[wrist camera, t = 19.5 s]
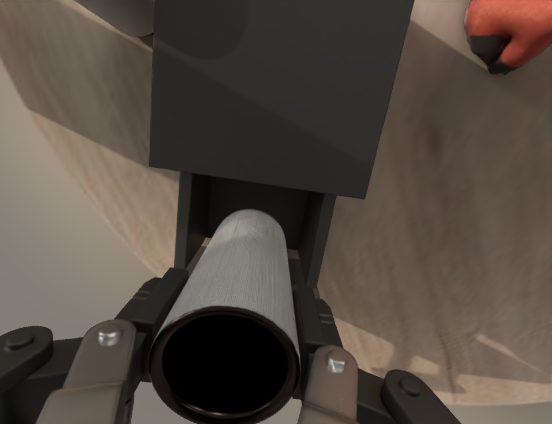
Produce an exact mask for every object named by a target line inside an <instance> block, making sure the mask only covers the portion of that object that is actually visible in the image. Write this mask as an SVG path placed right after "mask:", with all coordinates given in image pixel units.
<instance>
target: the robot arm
mask: <svg viewBox="0 0 552 424" xmlns="http://www.w3.org/2000/svg"><path fill="white" fill-rule="evenodd" d="M188 279H189V271H188V270H187V269H179V268H169V270H168V271H167V272H166V273H165V275H164V276H163V277H162V278H157V277H155V278H153V279H151V280H149V281H147V282H146V283H144V284H143V285H142V287H141V288H140V289H139V290H138V292H137V293H136V294H135V295H134V296H133V298H132V299H131V300H130V301H129V302H128V303H127V304H126V306H125V307H124V308H123V309H122V310H121V311H120V313H119V314H118V315H117V316H116V317H115V318H114V320H108V321H104V322H101V323H99V324H97V325H95V326H93V327H92V328H90V329H89V330H88V331H87V332H86V334H85V335H84V337H82V338H74V339H65V340H55V341H53V334H52V331H51V330H50V329H48V328H46V327H41V326H30V327H23V328H19V329H16V330H13V331H10V332H8V333H6V334H4V335H2V336H0V424H131V418H132V411H133V404H134V392H135V390H136V389H137V387H138V385H139V383H140V381H142V382H151V379H150V375H149V368H148V360H149V353H150V349H151V346H152V344H153V341H154V339H155V337H156V336H157V334H158V332H159V330H160V328H161V327H162V325H163V323H164V321H165V320H166V318H167V316H168V314H169V313H170V311H171V309H172V307H173V305H174V304H175V302H176V300H177V298H178V297H179V295H180V293H181V291H182V290H183V288H184V286H185V284H186V283H187V281H188ZM292 297H293V305H294V313H295V321H296V329H297V337H298V345H299V354H300V364H301V372H300V378H299V382H298V385H297V388H296V390H295V392H294V394H293V395H292V397H293V399H300V400H301V401H302V408H301V411H300V415H299V419H298V423H297V424H461V423H460V422H459V421H458V420H457V419H456V417H455V416H454V415H453V414H452V413H451V412H450V410H449V409H448V408H447V407H446V406H445V405H444V404H443V403H442V401H441V400H440V399H439V398H438V397H437V396H436V395H435V394H434V392H433V391H432V390H431V389H430V388H429V387H428V386H427V385H426V384H425V383H424V382H423V381H422V380H421V379H420V378H418V377H417V376H415V375H413V374H411V373H409V372H406V371H403V370H391V371H389V372H388V373H387V374H386V376H385V379H383V378H380V377H378V376H375V375H372V374H370V373H367V372H365V371H363V370H361V369H360V368H358V364H357V362H356V360H355V358H354V357H353V356H352V355H351V354H350V353H349V352H348V351H346V350H345V349H344V348H343V345H342V342H341V339H340V336H339V333H338V330H337V327H336V325H335V321H334V318H333V315H332V312H331V309H330V307H329V306H328V305H327V303H326V302H325V301H324V300H323V299H316V298H315V296H314V292H313V288H312V286H305V285H298V284H295V286H294V289H293V295H292Z"/></svg>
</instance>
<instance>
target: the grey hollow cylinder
mask: <svg viewBox="0 0 552 424" xmlns="http://www.w3.org/2000/svg"><path fill="white" fill-rule="evenodd" d="M148 368H149V375H150V379H151V382H152V384H153V387H154V389H155V390H156V392H157V394H158V396H159V397H160V398H161V400H162V401H163V402H164V403H165V404H166V405H167V406H168V407H169V408H171V410H173V411H174V412H175V413H177V414H178V415H180V416H181V417H183V418H185V419H187V420H189V421H191V422H194V423H197V424H256V423H259V422H261V421H264V420H266V419H267V418H269V417H271V416H273V415H274V414H276V413H277V412H278V411H279V410H281V408H283V406H285V404H287V402H288V401H289V400H290V398H291V397H292V395H293V394H294V392H295V390H296V388H297V385H298V382H299V378H300V372H301V364H300V354H299V345H298V337H297V329H296V321H295V313H294V305H293V297H292V289H291V281H290V273H289V265H288V257H287V248H286V241H285V236H284V233H283V230H282V228H281V226H280V224H279V223H278V222H277V221H276V220H275V219H274V218H273V217H272V216H271V215H269V214H267V213H265V212H263V211H260V210H256V209H244V210H239V211H236V212H234V213H232V214H230V215H229V216H228V217H226V218H225V219H224V220H223V221H222V223H221V224H220V225H219V227H218V228H217V230H216V232H215V234H214V235H213V237H212V239H211V241H210V242H209V244H208V246H207V248H206V249H205V251H204V253H203V255H202V256H201V258H200V260H199V262H198V263H197V265H196V267H195V269H194V270H193V272H192V274H191V276H190V277H189V279H188V281H187V283H186V284H185V286H184V288H183V290H182V291H181V293H180V295H179V297H178V298H177V300H176V302H175V304H174V305H173V307H172V309H171V311H170V313H169V314H168V316H167V318H166V320H165V321H164V323H163V325H162V327H161V328H160V330H159V332H158V334H157V336H156V337H155V339H154V341H153V344H152V346H151V349H150V353H149V360H148Z"/></svg>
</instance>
